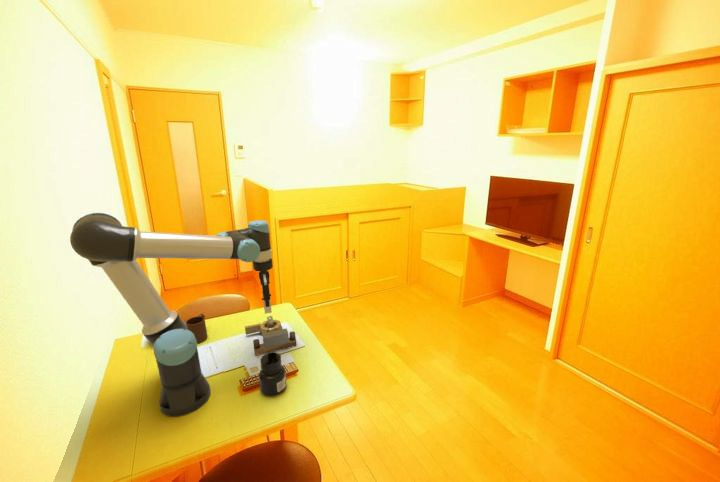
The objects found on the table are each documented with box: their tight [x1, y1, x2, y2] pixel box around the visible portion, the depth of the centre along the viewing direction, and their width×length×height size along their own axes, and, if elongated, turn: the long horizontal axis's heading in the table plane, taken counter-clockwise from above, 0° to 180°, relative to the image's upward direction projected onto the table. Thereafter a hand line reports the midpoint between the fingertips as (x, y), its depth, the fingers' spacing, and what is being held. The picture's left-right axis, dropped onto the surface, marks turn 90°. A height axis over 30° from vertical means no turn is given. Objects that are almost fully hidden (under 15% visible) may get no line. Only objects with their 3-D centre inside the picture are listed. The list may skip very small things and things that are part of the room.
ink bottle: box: [258, 351, 287, 397], centre depth 112 cm, size 10×9×12 cm
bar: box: [262, 328, 290, 348], centre depth 135 cm, size 10×4×4 cm, turn 112°
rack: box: [252, 330, 297, 356], centre depth 135 cm, size 4×17×6 cm, turn 112°
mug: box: [185, 313, 208, 344], centre depth 144 cm, size 12×8×9 cm, turn 3°
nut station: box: [259, 315, 283, 337], centre depth 148 cm, size 10×10×7 cm
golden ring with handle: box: [244, 319, 282, 335], centre depth 147 cm, size 9×16×3 cm, turn 112°
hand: (268, 312), depth 136 cm, fingers closed
